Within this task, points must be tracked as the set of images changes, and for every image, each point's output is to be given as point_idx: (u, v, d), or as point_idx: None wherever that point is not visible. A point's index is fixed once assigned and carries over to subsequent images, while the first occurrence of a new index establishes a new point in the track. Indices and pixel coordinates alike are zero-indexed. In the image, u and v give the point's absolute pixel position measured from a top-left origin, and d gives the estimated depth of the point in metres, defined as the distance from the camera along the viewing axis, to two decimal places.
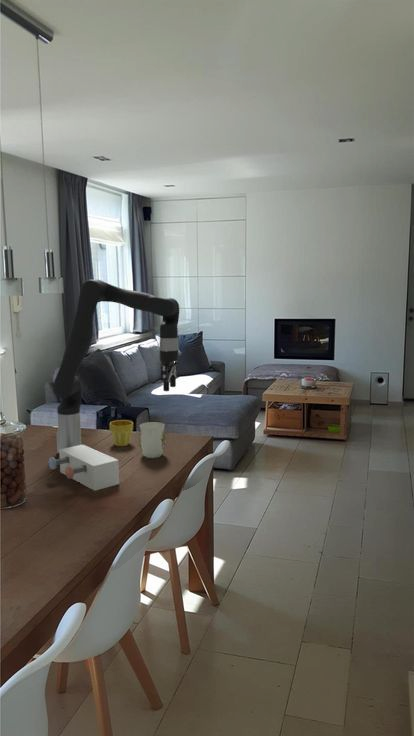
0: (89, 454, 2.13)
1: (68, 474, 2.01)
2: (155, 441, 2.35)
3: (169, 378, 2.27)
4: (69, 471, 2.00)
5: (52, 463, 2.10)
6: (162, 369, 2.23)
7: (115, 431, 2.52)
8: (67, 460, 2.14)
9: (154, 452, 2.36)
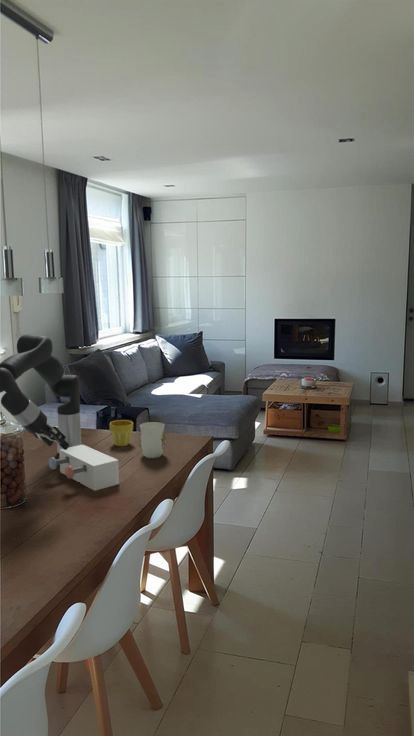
0: (89, 454, 2.13)
1: (68, 474, 2.01)
2: (155, 441, 2.35)
3: (41, 438, 1.92)
4: (69, 471, 2.00)
5: (52, 463, 2.10)
6: None
7: (115, 431, 2.52)
8: (67, 460, 2.14)
9: (154, 452, 2.36)
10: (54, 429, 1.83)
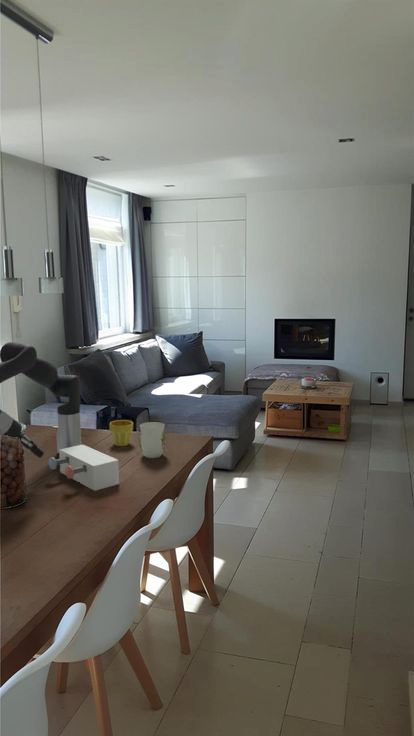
0: (89, 454, 2.13)
1: (68, 474, 2.01)
2: (155, 441, 2.35)
3: None
4: (69, 471, 2.00)
5: (52, 463, 2.10)
6: None
7: (115, 431, 2.52)
8: (67, 460, 2.14)
9: (154, 452, 2.36)
10: (31, 444, 1.85)
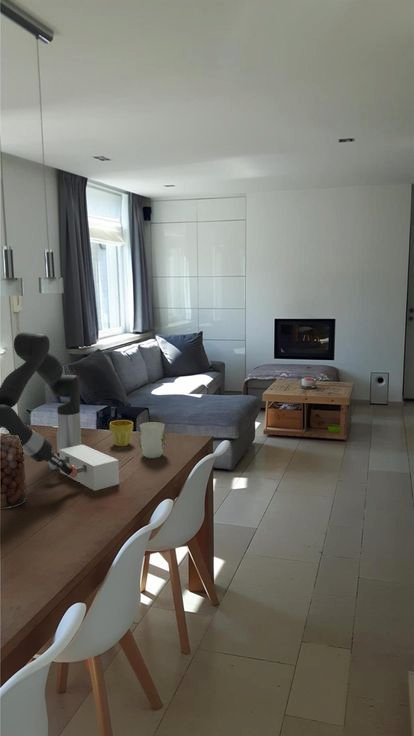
0: (89, 454, 2.13)
1: (71, 473, 2.02)
2: (155, 441, 2.35)
3: None
4: (72, 470, 2.01)
5: None
6: None
7: (115, 431, 2.52)
8: (67, 460, 2.14)
9: (154, 452, 2.36)
10: (61, 462, 1.93)
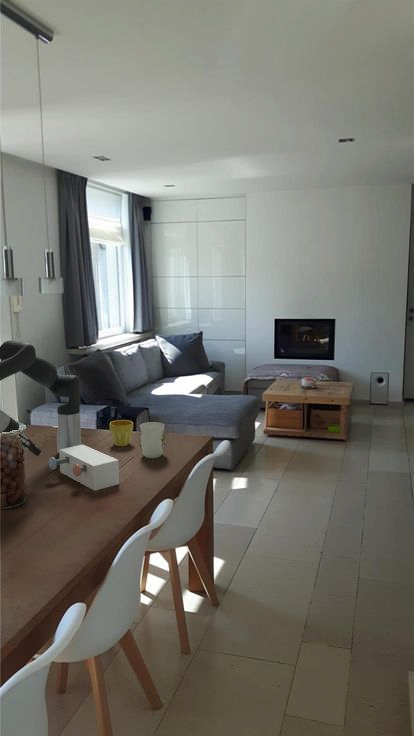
0: (89, 454, 2.13)
1: (75, 472, 2.03)
2: (155, 441, 2.35)
3: (24, 447, 1.92)
4: (77, 469, 2.02)
5: (52, 463, 2.10)
6: None
7: (115, 431, 2.52)
8: (67, 460, 2.14)
9: (154, 452, 2.36)
10: (28, 442, 1.85)
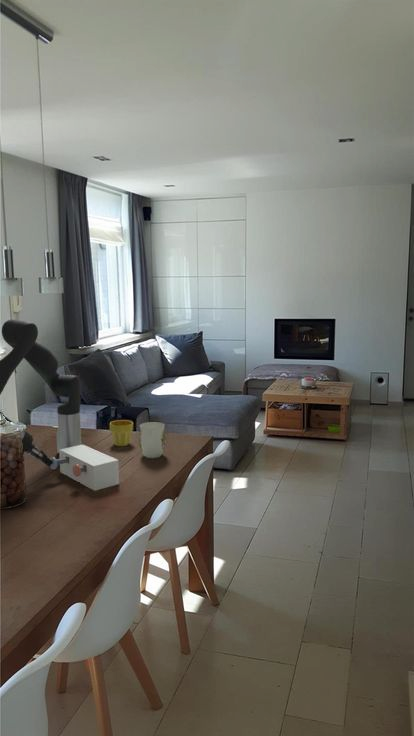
0: (89, 454, 2.13)
1: (75, 472, 2.03)
2: (155, 441, 2.35)
3: (37, 458, 2.08)
4: (77, 469, 2.02)
5: (53, 463, 2.10)
6: None
7: (115, 431, 2.52)
8: (68, 460, 2.14)
9: (154, 452, 2.36)
10: (41, 454, 2.02)
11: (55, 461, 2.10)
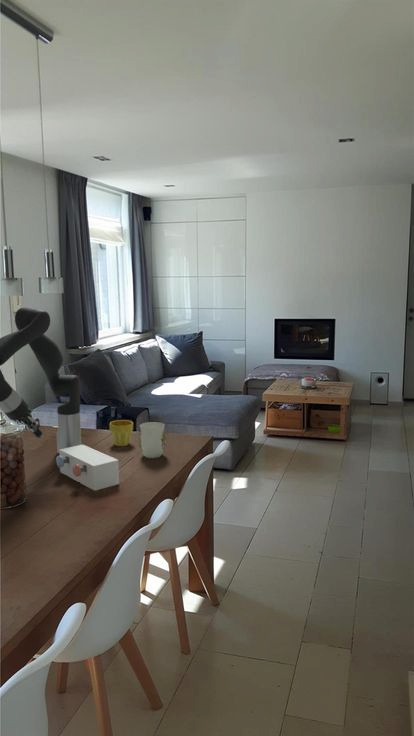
0: (89, 454, 2.13)
1: (75, 472, 2.03)
2: (155, 441, 2.35)
3: (28, 428, 2.01)
4: (77, 469, 2.02)
5: (59, 461, 2.12)
6: None
7: (115, 431, 2.52)
8: None
9: (154, 452, 2.36)
10: (37, 422, 1.96)
11: (62, 459, 2.12)
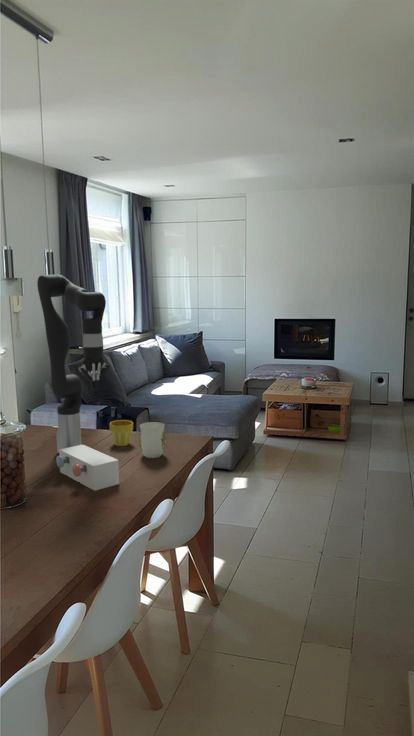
0: (89, 454, 2.13)
1: (75, 472, 2.03)
2: (155, 441, 2.35)
3: (94, 376, 2.20)
4: (77, 469, 2.02)
5: (59, 461, 2.12)
6: (80, 371, 2.17)
7: (115, 431, 2.52)
8: None
9: (154, 452, 2.36)
10: None
11: (62, 459, 2.12)
